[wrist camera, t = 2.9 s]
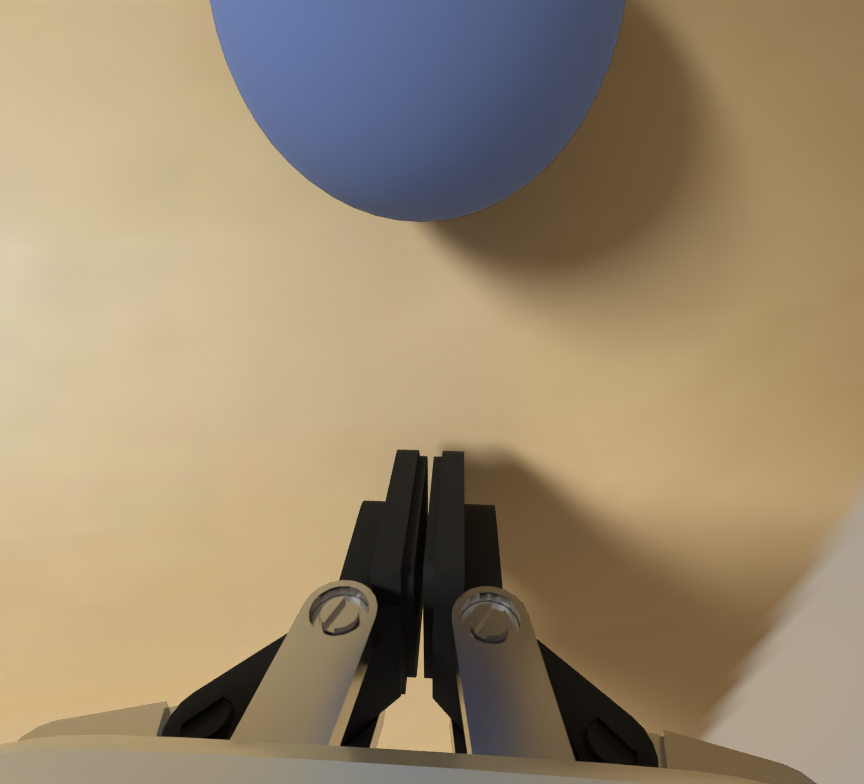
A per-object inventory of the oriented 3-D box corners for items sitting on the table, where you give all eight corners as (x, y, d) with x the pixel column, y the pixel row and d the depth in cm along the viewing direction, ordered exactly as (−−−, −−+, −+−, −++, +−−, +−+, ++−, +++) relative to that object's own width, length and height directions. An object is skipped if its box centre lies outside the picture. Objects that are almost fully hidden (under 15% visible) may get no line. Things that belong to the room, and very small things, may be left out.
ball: (229, -10, 9) (-44, -204, 4) (493, -237, 8) (548, -932, 3) (386, 253, 11) (326, 331, 6) (621, 111, 10) (790, 65, 5)
